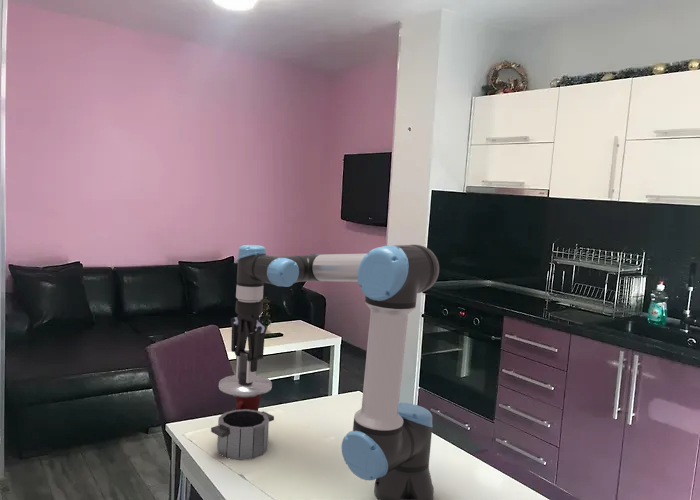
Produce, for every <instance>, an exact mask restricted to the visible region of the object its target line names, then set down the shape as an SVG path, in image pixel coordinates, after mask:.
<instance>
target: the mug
mask: <svg viewBox="0 0 700 500" xmlns="http://www.w3.org/2000/svg"><path fill="white" fill-rule="evenodd" d="M261 398H262V394H261V395H257V396H254V397H247V398H243V397H236V396H235V402H236V403H235V404H236V406H235V410H243V409H246V410H247V409H248V410H255V411H259V408H260V404H261Z"/></svg>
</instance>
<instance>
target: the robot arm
mask: <svg viewBox="0 0 700 500" xmlns="http://www.w3.org/2000/svg"><path fill="white" fill-rule="evenodd" d="M266 252H267V251H266V247H265V246H263V245H258V244H244V245H241V246H239V248H238V255H237V270H236V271H237V272H236V288H235V289H236V291H235V298H236V300H235V314H237V316H236V317H232V318H230V324H231V342H230V343H231V347H230V348H231V349H230V350H231V352H232V353H234V354H235V366H236V371H235V372H236V373H235V375H236V378H237V379H239V363H240V351H244V350H246V345H247V347H248V350H249V359H247V375H246V383H251V382H255V378H256V375H257V374H256V373H257V370H258V361H259V360H263V359H264V350H265V347H264V346H265V337H266V336H265V335H266V332H267V330H268V329H267V325H263V324H262V323H261V320H260V316H261V314H263V306H264V305H263V304H264V302H263V298H264V284H269V285H274V286H276V287H283V288H284V287H286V288H287V287H288V288H289V287H291V286H293V284H295V283H299V282H300V283H301V282H344V283H345V282H349V283H350V282H353V283H358V286H359V287H360V291H361V292H362V294H363V295H364V296H365V297H364V298H365V300H364V303H365V305H366V306H367V307H368V308H369V310H370V314H369V315H370V317H369V323H368V324H369V325H368V335H367V336H368V337H367V346H366V347H367V348H366V355H365V357H366V359H365V369H364V377H363V378H364V379H363V390H362V399H361V408H360V409H359V410H357V411H356V412H355V413H354V416H353V424H352V427H353V428H352V430H351V431H348V433H346V435H345V436H344V437H343V438H342V442H341V454H342V457H343V461H344V462H345V463H344V464H346V465H347V467H348V469H349V470H350V472H351V473H352V474H353V475H354V476H356V477H358V478H360V479H361V480H364V481H374V480H375V481H374V486H373V487H374V489H373V492H374V496H375V497H376V498H377V500H434V494H435V493H434V492H435V490H434V485H433V480H432V477H431V471H430V457H431V456H430V455H431V444H432V435H433V434H432V433H433V427H434V426H433V414H432V413H431V411H430V410H429V409H427V408H426V407H423V406H421V405H418V404H417V405H416V404H413V403H408V402H400V397H401V396H400V395H401V386H402V378H403V366H404V357H405V349H406V348H405V347H406V339H407V329H408V318H409V314H410V313H411V312H412V311H414V310H415V309H416V307H417V304H416V303H417V297H418V294H420V293H424V292H427V290H429V289H431V288H433V286H434V285H435V283H436V282H437V280H438V277H439V274H440V264H439V260H438V257H437V256H436V255H435V253H434V252H433V251H432V250H431V249H429V248H428V247H426V246H424V245H421V244H404V245H403V244H402V245H401V244H399V245H398V244H395V245H388V244H386V245H383V246H379V247H375V248H373V249H371V250H370V251H368V252H367V253H333V254H329V253H328V254H327V253H326V254H325V253H324V254H317V253H313V254H312V253H310V254H304V255H287V256H286V255H285V256H284V255H283V256H282V255H281V256H273V255H268V254H267V253H266ZM253 355H254V356H253Z"/></svg>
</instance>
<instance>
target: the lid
mask: <svg viewBox="0 0 700 500" xmlns="http://www.w3.org/2000/svg"><path fill="white" fill-rule="evenodd" d="M253 356H254V355H253ZM247 359H249V349H245V350H244V351H240V363H239V379H237V378H236V374H234V375H229V376H225V377H223V378H222V379H220V380H219V381H218V389H219V390H220V392H222V393H224V394H227V395H230V396H233V397H235V398H236V397H243V398H247V397H254V396H257V395H261V396H262V395H265V394H267V393H269V392H270V391H271V390H272V387H273V382H272V381H271V379H269V378H268V377H266V376H263V375H257V374H256V378H255V382H251V383H246V375H247Z"/></svg>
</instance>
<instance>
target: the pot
mask: <svg viewBox="0 0 700 500" xmlns="http://www.w3.org/2000/svg"><path fill="white" fill-rule="evenodd" d="M217 420H218V421H217V422H218V423H217V425H215V426H213V427H211V428H210V432H211V433H212V434H214V435H216V436H217V441H216V442H217V443H216V445H217V447H216V448H217V453H218V455H220V454H221V455H220V456H222V455H223V456H222V457H224V458H225V457H226V458H225V459H228V458H230V460H234V459H235V461H245V460H254V459H256V458H258V457H262V456H263V455H264V454H266V452H267V451H268V444H269V429H270V428H269V427H270V426H269V424H270V423H269V422H272V421H275V415H272V414H270V413H268V412H266V411H259V410H258V411H255V410H248V409H247V410H246V409H243V410H236V409H233V410H229V411H226V412H223V413H222V414H221V415H220V416H219V417H218V419H217Z"/></svg>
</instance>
